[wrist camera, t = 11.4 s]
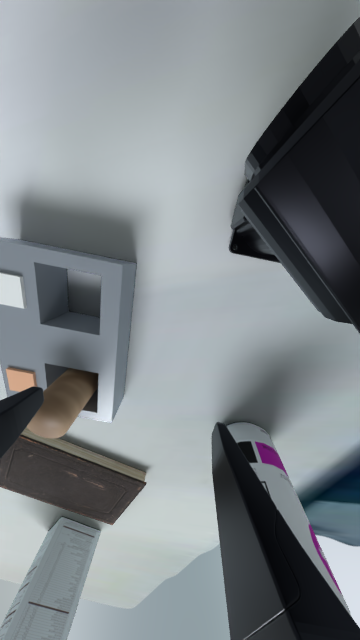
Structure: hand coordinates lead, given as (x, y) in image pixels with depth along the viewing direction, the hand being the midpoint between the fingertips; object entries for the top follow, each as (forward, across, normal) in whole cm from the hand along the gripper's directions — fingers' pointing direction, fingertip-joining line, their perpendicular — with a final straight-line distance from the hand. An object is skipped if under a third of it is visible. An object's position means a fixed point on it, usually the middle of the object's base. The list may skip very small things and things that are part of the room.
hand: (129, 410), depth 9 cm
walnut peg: (+12, +8, +8) cm, 16 cm away
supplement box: (+11, +12, +53) cm, 55 cm away
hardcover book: (+12, +12, +32) cm, 36 cm away
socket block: (+12, +10, +3) cm, 16 cm away
